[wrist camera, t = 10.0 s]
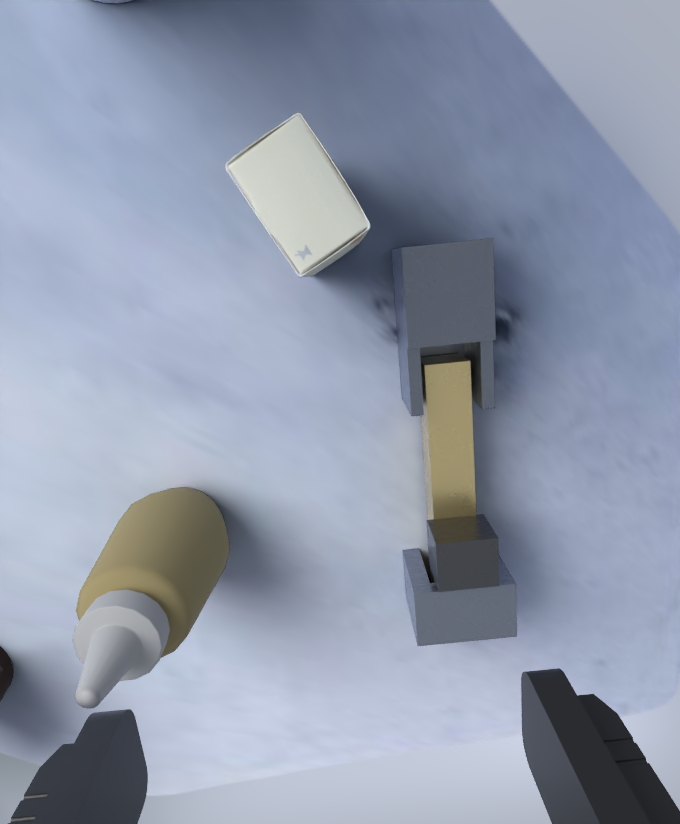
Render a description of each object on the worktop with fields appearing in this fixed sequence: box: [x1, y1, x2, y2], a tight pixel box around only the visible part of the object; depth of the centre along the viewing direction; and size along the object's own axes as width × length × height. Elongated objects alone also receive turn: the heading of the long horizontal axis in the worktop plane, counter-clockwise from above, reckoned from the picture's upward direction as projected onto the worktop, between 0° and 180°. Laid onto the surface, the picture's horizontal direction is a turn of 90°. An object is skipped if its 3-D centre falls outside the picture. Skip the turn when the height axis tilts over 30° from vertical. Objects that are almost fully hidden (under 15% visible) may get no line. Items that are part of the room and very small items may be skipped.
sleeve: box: [391, 238, 496, 416], centre depth 37 cm, size 10×5×6 cm, turn 6°
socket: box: [403, 549, 517, 646], centre depth 42 cm, size 4×7×6 cm, turn 96°
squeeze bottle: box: [73, 487, 230, 708], centre depth 34 cm, size 8×8×18 cm
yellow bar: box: [420, 354, 499, 592], centre depth 38 cm, size 18×4×6 cm, turn 6°
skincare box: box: [225, 112, 371, 277], centre depth 31 cm, size 6×4×12 cm
